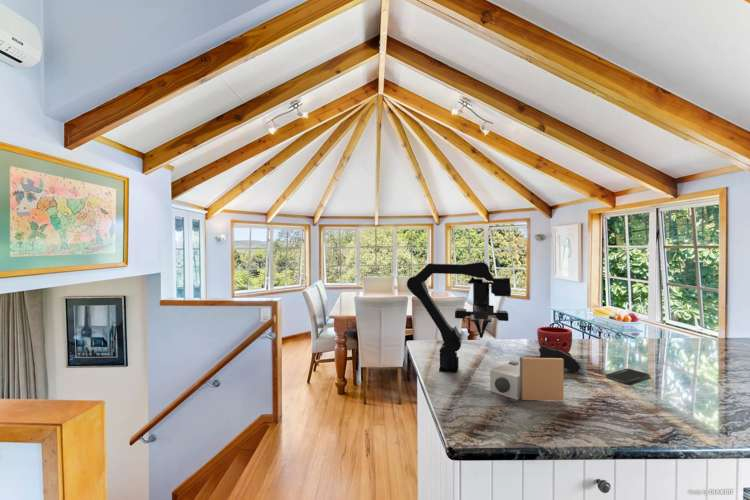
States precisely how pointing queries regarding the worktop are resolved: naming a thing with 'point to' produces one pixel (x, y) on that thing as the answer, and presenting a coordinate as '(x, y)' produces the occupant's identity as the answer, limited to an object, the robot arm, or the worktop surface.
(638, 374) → the phone
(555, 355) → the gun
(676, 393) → the worktop surface
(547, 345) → the plant pot
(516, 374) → the white box
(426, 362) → the worktop surface
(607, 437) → the worktop surface
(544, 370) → the tan flat square panel
